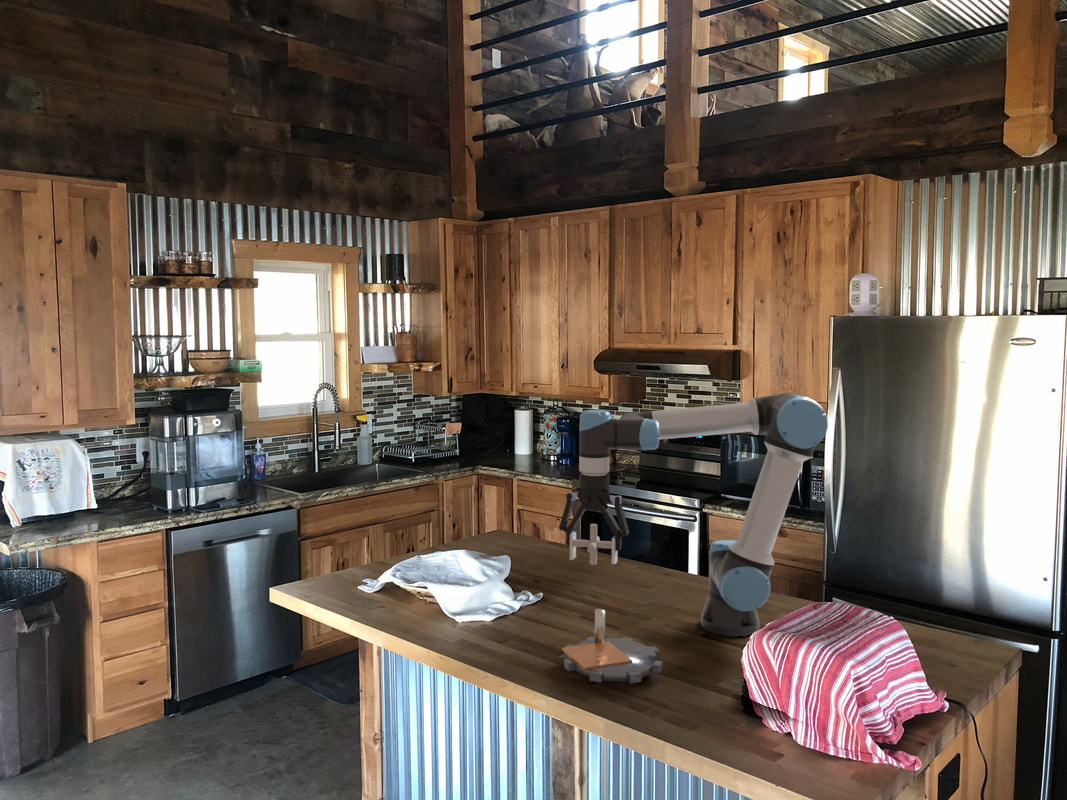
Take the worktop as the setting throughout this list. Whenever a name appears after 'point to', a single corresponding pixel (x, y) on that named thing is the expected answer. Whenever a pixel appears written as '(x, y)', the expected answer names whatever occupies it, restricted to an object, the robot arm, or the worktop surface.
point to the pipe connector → (593, 544)
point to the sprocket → (611, 656)
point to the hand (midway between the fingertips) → (593, 560)
